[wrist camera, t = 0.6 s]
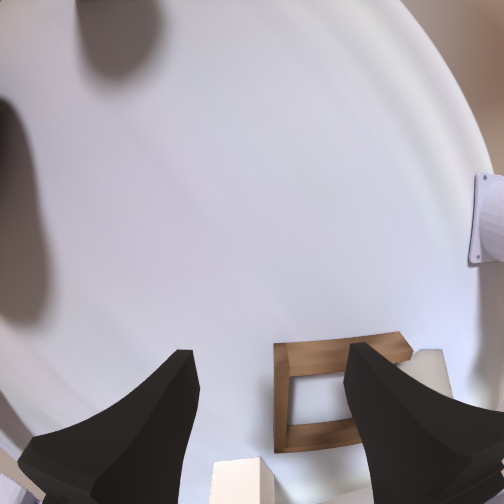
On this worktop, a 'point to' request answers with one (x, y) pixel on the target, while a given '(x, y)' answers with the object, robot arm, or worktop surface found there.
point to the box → (319, 362)
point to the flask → (429, 370)
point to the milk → (242, 482)
